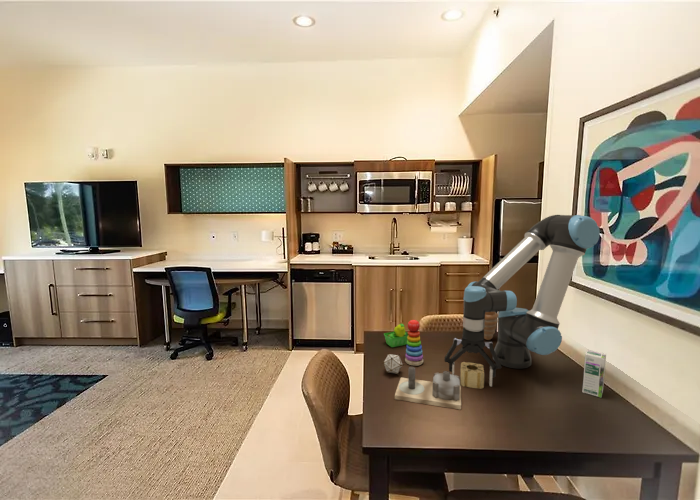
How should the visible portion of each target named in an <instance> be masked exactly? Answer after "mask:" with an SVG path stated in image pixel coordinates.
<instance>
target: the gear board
mask: <svg viewBox="0 0 700 500" xmlns="http://www.w3.org/2000/svg"><path fill="white" fill-rule="evenodd" d="M407 371H408V373H407V374H408V376H407V378H406V377H403V376H402V377H400V378H399V381H398V384H397V387H396V390H395V393H394V400H396V401H404V402H411V403H416V404H424V405H429V406H435V407H442V408H448V409H455V410H462V385H460V382H461V377H460V376H459V375H457V374H454V375H452V373H451V372H449V370H448V371H447V370H444V371H443V372H441V373H439V372H438V371H437V372H434V373H433V377H432V381H429V380H423V379H422V380H421V379H417V378H416V367H415V366H409V367H408V370H407Z"/></svg>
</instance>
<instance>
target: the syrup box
mask: <svg viewBox="0 0 700 500" xmlns="http://www.w3.org/2000/svg"><path fill="white" fill-rule="evenodd" d="M606 360H607V353H605V352H600V351H595V350H590V349H587V350H586V352H585V355H584V364H583V379H582V380H583V381H582V390H581V391H582V393H583V394H587V395H590V396H594V397H598V398H602V397H603V393H604V382H605V372H606Z"/></svg>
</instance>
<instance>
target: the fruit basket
mask: <svg viewBox="0 0 700 500" xmlns="http://www.w3.org/2000/svg"><path fill="white" fill-rule="evenodd" d="M383 335H384V339H385V342H386V344H387V345H388V346H389V347H391V348H397V347H402V346H405V345H406V346H407V340H408V339H407V337H408V336H409V335H408V331H406V328H405V325H404V324H403V323H399V324H397V326H395V327H394V328H393V331H390V332H385V333H383Z"/></svg>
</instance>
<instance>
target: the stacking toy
mask: <svg viewBox="0 0 700 500" xmlns="http://www.w3.org/2000/svg"><path fill="white" fill-rule="evenodd" d="M420 327H421V325H420V322H419V321H418V320H417V319H410V320H409V321H408V323H407V329H408V331H407V333H408V335H409V336H408V337H407V339H408V340H407V345H406V346H405V347H406V349H405V358H404V361H405V363H406V364H407V365H409V366H412V367H415V366H421V365H422V364H423V363H424V362H425V361H424V355H423V346H422V341H421V336H420V335H421V333H420V331H419V329H420Z"/></svg>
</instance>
